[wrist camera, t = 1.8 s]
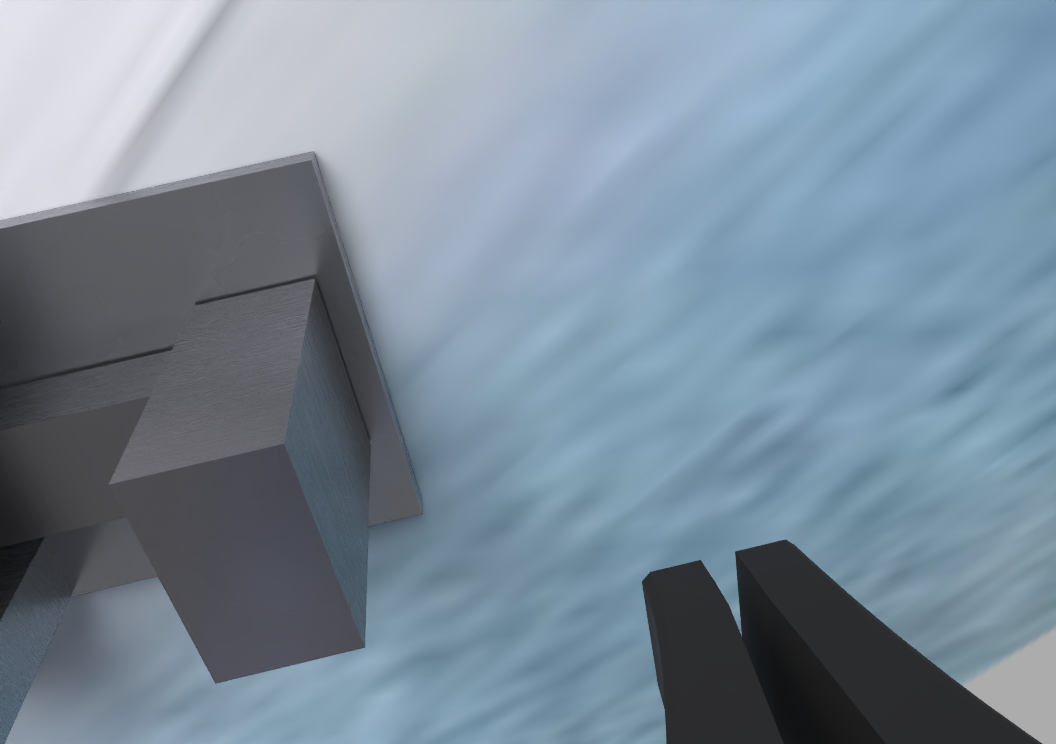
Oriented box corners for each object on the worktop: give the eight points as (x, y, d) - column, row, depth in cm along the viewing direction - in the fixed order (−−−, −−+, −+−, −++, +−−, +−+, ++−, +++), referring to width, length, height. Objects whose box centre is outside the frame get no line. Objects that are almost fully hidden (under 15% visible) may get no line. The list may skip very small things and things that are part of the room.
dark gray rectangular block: (315, 278, 17) (284, 443, 12) (370, 445, 19) (365, 647, 14) (-119, 376, 16) (-342, 589, 11) (-16, 535, 18) (-167, 774, 13)
